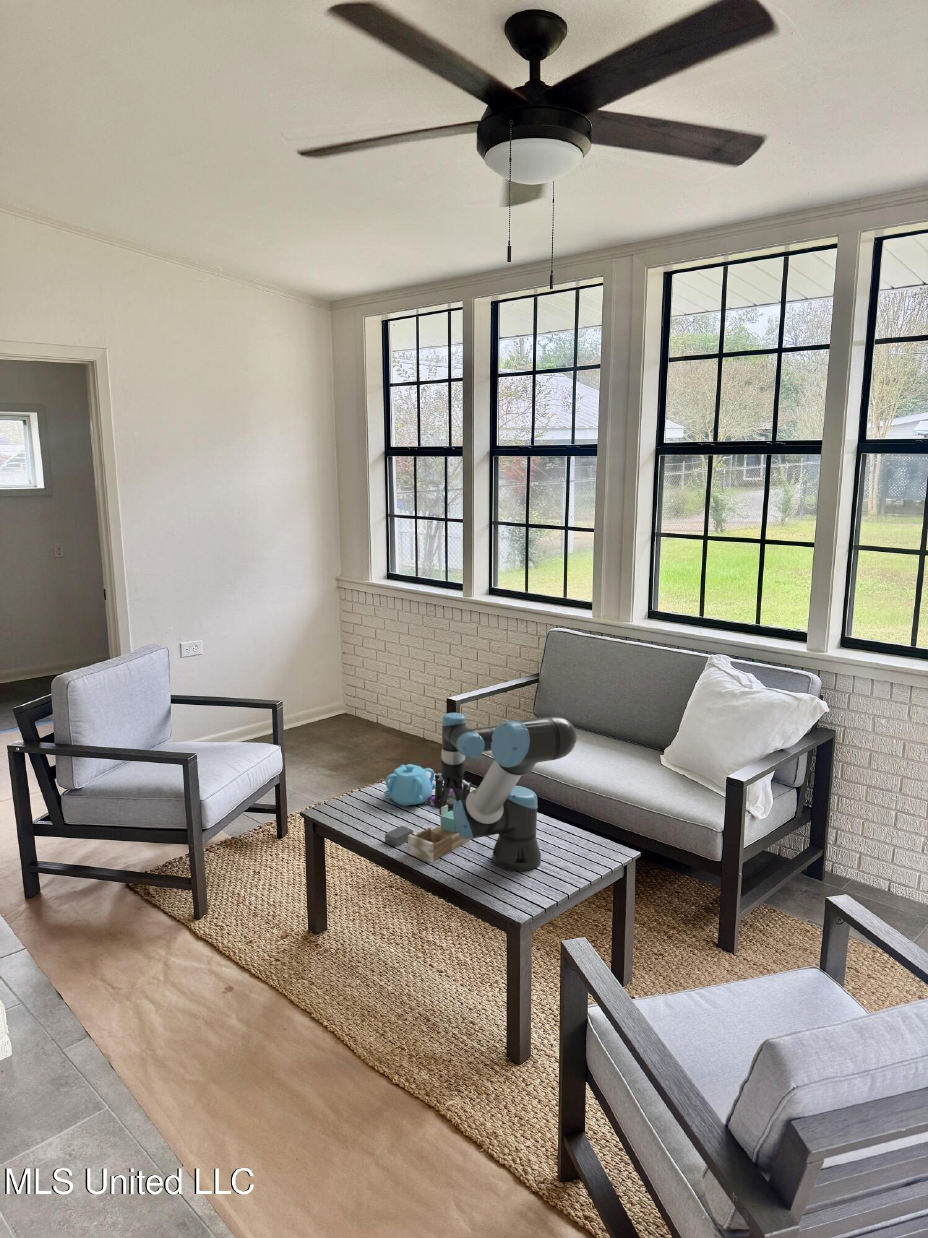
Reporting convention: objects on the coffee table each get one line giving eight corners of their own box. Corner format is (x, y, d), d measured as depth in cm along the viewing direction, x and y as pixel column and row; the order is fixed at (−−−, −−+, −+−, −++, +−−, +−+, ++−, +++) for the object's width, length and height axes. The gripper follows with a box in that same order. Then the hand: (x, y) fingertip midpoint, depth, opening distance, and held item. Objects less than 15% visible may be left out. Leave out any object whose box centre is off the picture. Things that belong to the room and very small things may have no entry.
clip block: (464, 827, 265) (464, 814, 265) (453, 833, 261) (453, 819, 260) (451, 823, 269) (451, 810, 268) (440, 829, 264) (440, 815, 264)
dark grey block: (412, 838, 266) (413, 830, 265) (396, 847, 260) (396, 838, 259) (401, 834, 269) (401, 825, 268) (385, 842, 263) (385, 833, 262)
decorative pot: (401, 789, 307) (401, 754, 305) (439, 796, 301) (439, 761, 298) (379, 804, 293) (379, 768, 290) (418, 812, 286) (418, 776, 284)
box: (427, 806, 294) (467, 821, 281) (427, 797, 294) (467, 811, 281) (453, 794, 304) (493, 808, 292) (453, 785, 304) (493, 799, 291)
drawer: (471, 840, 266) (471, 823, 264) (430, 862, 250) (431, 844, 249) (448, 831, 271) (448, 815, 270) (407, 853, 256) (408, 835, 255)
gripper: (483, 764, 258) (481, 832, 262) (438, 750, 269) (437, 816, 273) (469, 771, 252) (467, 840, 256) (423, 756, 263) (422, 823, 268)
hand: (451, 827), depth 265 cm, fingers open, 6 cm apart
